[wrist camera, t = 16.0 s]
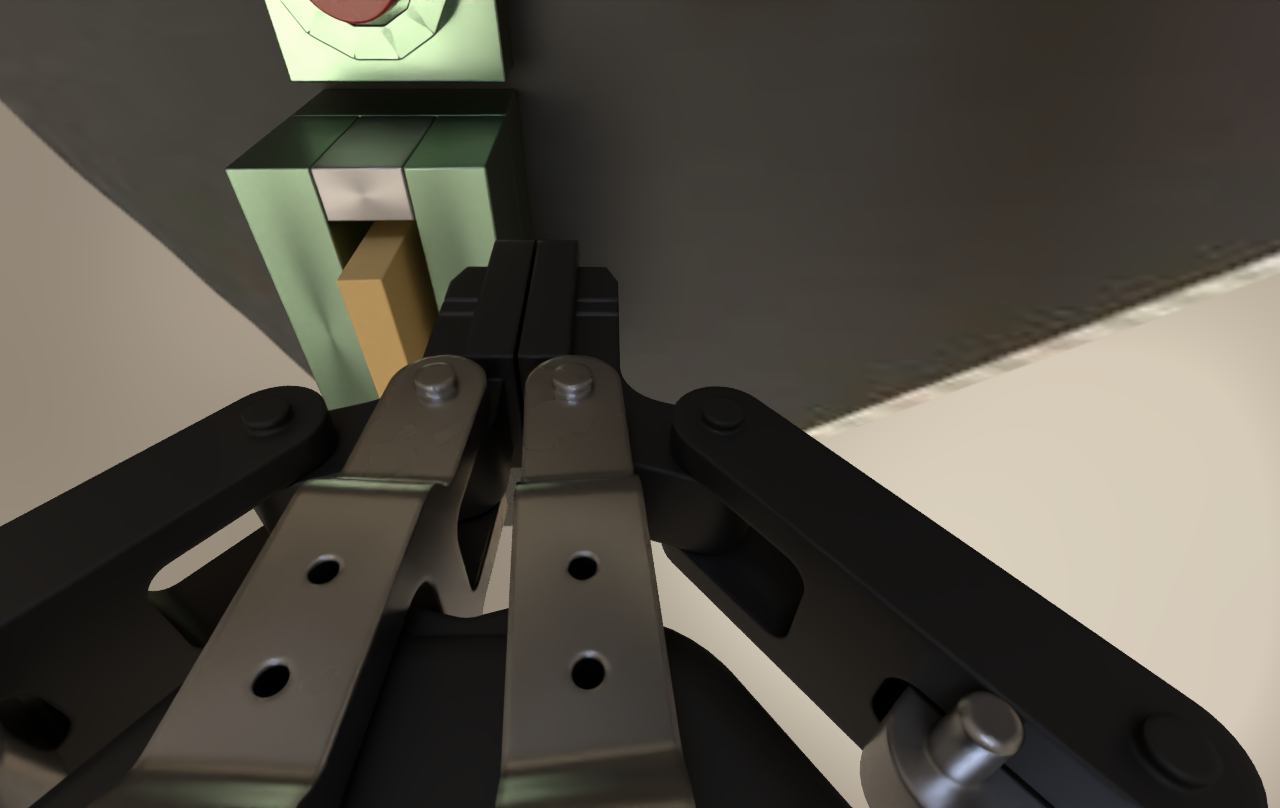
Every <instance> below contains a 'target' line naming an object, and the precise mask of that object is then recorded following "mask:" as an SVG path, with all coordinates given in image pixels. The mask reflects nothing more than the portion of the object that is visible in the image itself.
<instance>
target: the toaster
mask: <svg viewBox="0 0 1280 808" xmlns="http://www.w3.org/2000/svg"><path fill="white" fill-rule="evenodd" d="M225 171H226V174H227V176H228V178H229V181H230V183H231V185H232V188H233V190H234V192H235V195H236V197H237V199H238V202H239V204H240V206H241V209H242V211H243V213H244V216H245V218H246V220H247V223H248V225H249V227H250V230H251V232H252V234H253V236H254V239H255V241H256V243H257V246H258V248H259V250H260V253H261V255H262V257H263V260H264V262H265V264H266V267H267V269H268V271H269V274H270V276H271V278H272V281H273V283H274V285H275V288H276V290H277V292H278V295H279V297H280V299H281V302H282V304H283V306H284V308H285V311H286V313H287V315H288V318H289V320H290V322H291V325H292V327H293V329H294V332H295V334H296V336H297V339H298V341H299V343H300V346H301V348H302V350H303V353H304V355H305V357H306V360H307V362H308V364H309V367H310V369H311V371H312V374H313V376H314V378H315V380H316V383H317V385H318V387H319V390H320V392H321V394H322V397H323V399H324V401H325V403H326V405H327V408H328V410H333V409H338V408H343V407H347V406H352V405H356V404H361V403H366V402H369V401H373V400H376V399H379V395H378V393H377V390H376V387H375V384H374V382H373V379H372V376H371V374H370V371H369V368H368V366H367V363H366V360H365V357H364V355H363V352H362V349H361V347H360V344H359V341H358V339H357V336H356V333H355V330H354V328H353V325H352V322H351V320H350V317H349V314H348V312H347V309H346V306H345V303H344V301H343V298H342V295H341V293H340V290H339V287H338V285H337V279H338V277H339V276H340V274H341V273H342V271H343V270H344V268H345V267H346V265H347V263H348V262H349V260H350V259H351V257H352V256H353V254H354V253H355V251H356V249H357V248H358V246H359V245H360V243H361V242H362V240H363V239H364V237H365V235H366V234H367V232H368V231H369V229H370V228H371V226H372V225H373V223H374V222H375V221H414V220H415V219H416V223H417V227H418V231H419V236H420V240H421V244H422V248H423V252H424V256H425V260H426V265H427V269H428V273H429V277H430V281H431V285H432V290H433V294H434V298H435V302H436V306H437V310H438V314H439V311H440V309H441V306H442V303H443V302H444V298H445V295H446V292H447V289H448V287H449V284H450V281H451V280H452V279H454V278H455V277H456V276H457V275H458V274H459V273H461V272H462V271H463V270H464V269H465V268H466V267H467V266H477V267H487V266H488V263H489V259H490V256H491V253H492V249H493V246H494V242H495V240H533V233H532V224H531V215H530V206H529V197H528V189H527V180H526V171H525V162H524V153H523V144H522V135H521V126H520V117H519V108H518V99H517V91H516V90H514V89H493V90H323V91H321V92H320V93H319V94H318V95H316V96H315V97H314V98H313V99H311V100H310V101H309V102H308V103H306V104H305V105H304V106H303V107H301V108H300V109H299V110H298V111H296V112H295V113H294V114H293V115H292V116H290V117H289V118H287V119H286V120H285V121H284V122H282V123H281V124H280V125H279V126H277V127H276V128H275V129H274V130H272V131H271V132H270V133H269V134H267V135H266V136H265V137H264V138H262V139H261V140H260V141H259V142H258V143H256V144H255V145H254V146H253V147H251V148H250V149H249V150H248V151H246V152H245V153H244V154H243V155H241V156H240V157H239V158H238V159H236V160H235V161H234V162H233V163H231V164H230V165H229V166H228V167H226V168H225Z"/></svg>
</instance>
